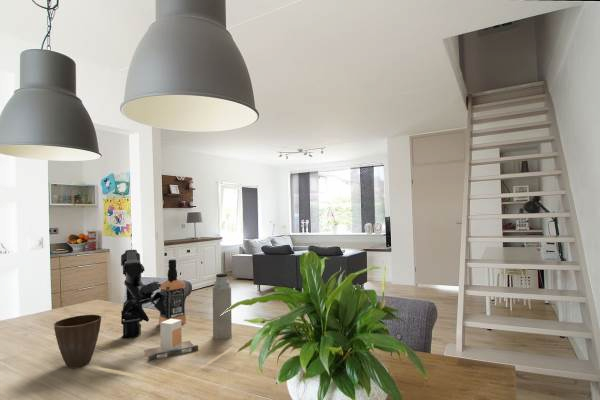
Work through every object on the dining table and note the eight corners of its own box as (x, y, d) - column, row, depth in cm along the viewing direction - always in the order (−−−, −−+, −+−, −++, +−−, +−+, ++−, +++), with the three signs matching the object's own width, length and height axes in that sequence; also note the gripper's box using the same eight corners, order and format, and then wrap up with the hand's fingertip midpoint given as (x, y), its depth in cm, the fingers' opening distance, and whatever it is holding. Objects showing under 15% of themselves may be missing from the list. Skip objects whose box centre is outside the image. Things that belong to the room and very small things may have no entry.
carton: (172, 354, 136) (172, 324, 136) (160, 352, 138) (160, 322, 139) (182, 349, 141) (182, 320, 141) (170, 347, 143) (170, 318, 144)
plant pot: (50, 376, 121) (50, 329, 122) (56, 361, 134) (57, 318, 135) (100, 367, 128) (100, 322, 129) (101, 353, 141) (102, 312, 142)
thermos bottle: (220, 334, 161) (220, 272, 162) (235, 336, 158) (234, 273, 159) (209, 340, 154) (208, 275, 155) (224, 342, 150) (223, 276, 151)
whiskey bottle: (177, 319, 186) (177, 257, 187) (186, 323, 179) (186, 259, 181) (158, 324, 179) (157, 260, 180) (167, 328, 172) (166, 261, 173)
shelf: (149, 363, 130) (149, 356, 130) (143, 352, 141) (143, 345, 141) (198, 352, 140) (198, 345, 140) (189, 343, 151) (189, 336, 151)
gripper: (128, 279, 137) (149, 310, 132) (163, 271, 154) (184, 299, 149) (113, 298, 140) (134, 329, 135) (150, 288, 157) (169, 316, 152)
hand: (157, 317), depth 143 cm, fingers open, 9 cm apart
